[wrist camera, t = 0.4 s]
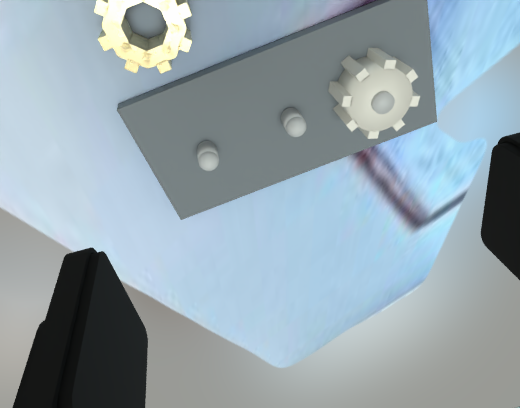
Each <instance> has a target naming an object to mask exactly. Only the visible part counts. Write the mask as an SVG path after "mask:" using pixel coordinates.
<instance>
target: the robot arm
mask: <svg viewBox="0 0 520 408" xmlns="http://www.w3.org/2000/svg"><path fill="white" fill-rule="evenodd" d="M481 238H482V241H483V243H484V244H485V246H486V247H487V248H488V249H489V250H490V251H491V252H492V253H493V254H494V255H495V256H496V257H497V258H498V259H499V260H500V261H501V262H502V263H503V264H504V265H505V266H506V267H507V268H508V269H509V270H510V271H511V272H512V273H513V274H514V275H515V276H516V277H517V278H518V279H519V280H520V133H516V134H512V135H509V136H505V137H502V138H501V139H500V140H499V142H498V144H497V145H496V146H495V147H494V148H493V150H492V155H491V163H490V171H489V177H488V185H487V192H486V199H485V206H484V213H483V220H482V228H481ZM147 348H148V338H147V333H146V329H145V327H144V325H143V323H142V321H141V319H140V317H139V315H138V313H137V312H136V310H135V308H134V306H133V304H132V302H131V300H130V298H129V297H128V295H127V293H126V291H125V289H124V287H123V285H122V283H121V281H120V280H119V278H118V276H117V274H116V272H115V270H114V268H113V266H112V265H111V263H110V261H109V259H108V257H107V255H106V254H105V253H104V252H103V251H101V252H96V250H95V249H94V248H88V249H84V250H80V251H77V252H73V253H69V254H67V255H66V256H65V257H64V260H63V263H62V266H61V269H60V273H59V276H58V280H57V283H56V286H55V289H54V293H53V296H52V299H51V302H50V306H49V309H48V313H47V316H46V319H45V321H43V322H42V323H41V324H40V325H39V327H38V330H37V332H36V335H35V339H34V342H33V345H32V348H31V351H30V354H29V358H28V361H27V364H26V367H25V370H24V373H23V377H22V380H21V383H20V386H19V389H18V392H17V396H16V399H15V402H14V405H13V408H145V398H146V395H145V394H146V371H147ZM516 408H520V407H516Z"/></svg>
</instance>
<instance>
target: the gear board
mask: <svg viewBox="0 0 520 408" xmlns="http://www.w3.org/2000/svg"><path fill="white" fill-rule="evenodd" d="M117 111H118V113H119V114H120V116H121V118H122V120H123V121H124V123H125V125H126V126H127V128H128V130H129V132H130V133H131V135H132V137H133V138H134V140H135V142H136V144H137V145H138V147H139V149H140V150H141V152H142V154H143V156H144V157H145V159H146V161H147V162H148V164H149V166H150V168H151V169H152V171H153V173H154V174H155V176H156V178H157V179H158V181H159V183H160V185H161V186H162V188H163V190H164V191H165V193H166V195H167V197H168V198H169V200H170V202H171V203H172V205H173V207H174V209H175V210H176V212H177V214H178V215H179V217H180V219H181V220H182V219H185V218H187V217H190V216H193V215H195V214H198V213H200V212H203V211H206V210H208V209H211V208H213V207H216V206H219V205H221V204H224V203H226V202H229V201H232V200H234V199H237V198H239V197H242V196H245V195H247V194H250V193H252V192H255V191H258V190H260V189H263V188H265V187H268V186H271V185H273V184H276V183H278V182H281V181H284V180H286V179H289V178H291V177H294V176H297V175H299V174H302V173H304V172H307V171H310V170H312V169H315V168H317V167H320V166H323V165H325V164H328V163H330V162H333V161H336V160H338V159H341V158H343V157H346V156H349V155H351V154H354V153H356V152H359V151H362V150H364V149H367V148H369V147H372V146H375V145H377V144H380V143H382V142H385V141H388V140H390V139H393V138H395V137H398V136H401V135H403V134H406V133H408V132H411V131H414V130H416V129H419V128H421V127H424V126H427V125H429V124H432V123H434V122H437V115H436V103H435V91H434V78H433V66H432V54H431V41H430V29H429V17H428V5H427V0H377V1H374V2H372V3H369V4H367V5H364V6H362V7H359V8H357V9H354V10H352V11H349V12H347V13H344V14H342V15H339V16H337V17H334V18H332V19H329V20H327V21H324V22H322V23H319V24H317V25H314V26H312V27H309V28H307V29H304V30H302V31H299V32H297V33H294V34H292V35H289V36H287V37H284V38H282V39H279V40H277V41H274V42H272V43H269V44H267V45H264V46H262V47H259V48H257V49H254V50H252V51H249V52H247V53H244V54H242V55H239V56H237V57H234V58H232V59H229V60H227V61H224V62H222V63H219V64H217V65H214V66H212V67H209V68H207V69H204V70H202V71H199V72H197V73H194V74H192V75H189V76H187V77H184V78H182V79H179V80H177V81H174V82H172V83H169V84H167V85H164V86H162V87H159V88H157V89H154V90H152V91H149V92H147V93H144V94H142V95H139V96H137V97H134V98H132V99H129V100H127V101H124V102H122V103H119V104H118V108H117Z"/></svg>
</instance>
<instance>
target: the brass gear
mask: <svg viewBox="0 0 520 408" xmlns="http://www.w3.org/2000/svg"><path fill="white" fill-rule="evenodd" d="M141 2H145V3H147V4H149V5H151V6H153V7H156V8H158V9H160V10H161V11H162V14H163V16H164V18H165V20H166V23H167V24H166V27H165V29H164V32H163V33H162V34H160V35H157V36H155V37H152V38H150V39H147V38H145V37H143V36H140V35H138V34H136V33H133V32H132V30H131V28H130V26H129V24H128V22H127V20H126V18H125V13H126V10H127V8H129V7H131V6H133V5H136V4H138V3H141ZM94 12H95V13H97V14H100V15H102V16H104V19H103V22H102V28H103V30H102V32H101V34H100V36H99V38H98V40H99V42H100V44H101V46H102V47H103V49H104V51H106V50H108V49H111V48H114V50H115V52H116V54H117V56H118V57H121V58H123V59H126V60H127V61H126V65H125V68H124V69H127V70H129V71H132V72H134V73H137V71H138V68H139V65H140V66H143V67H145V68H151V67H154V66H156V65H157V67H158V70H159V72H160V74H161V73H164V72H166V71H169V70H171V69H172V67H171V59H173V58H175V57H176V56H177V53H178V51H179V49H180V50H183V51H185V52H187V53H188V51H189V48H190V46H191V43H192V38H191V32H190V30H189V29H187V28H186V21H185V18H187V17H189V16H192V15H191V10H190V6H189V4H188V1H187V0H97V3H96V7H95V10H94Z"/></svg>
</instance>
